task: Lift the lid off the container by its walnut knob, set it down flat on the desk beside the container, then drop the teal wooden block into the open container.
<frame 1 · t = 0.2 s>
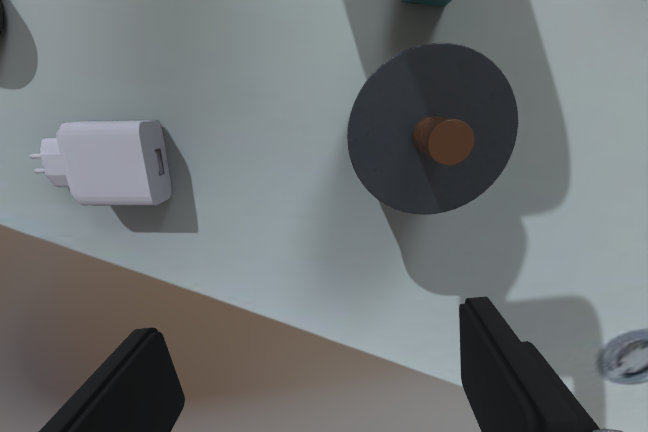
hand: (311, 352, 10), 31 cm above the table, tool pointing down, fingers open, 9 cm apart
charger: (109, 159, 41), on the table
lid: (429, 134, 26), point 12 cm above the table, touching container
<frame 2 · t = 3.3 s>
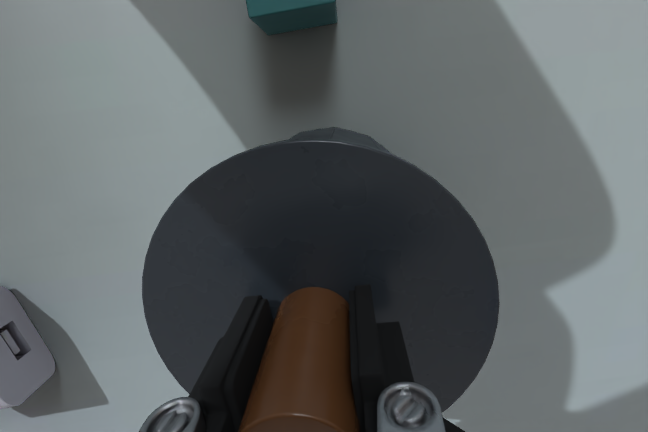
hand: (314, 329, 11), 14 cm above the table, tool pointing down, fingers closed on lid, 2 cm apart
container: (330, 210, 24), on the table
lid: (316, 310, 12), point 13 cm above the table, touching gripper, container
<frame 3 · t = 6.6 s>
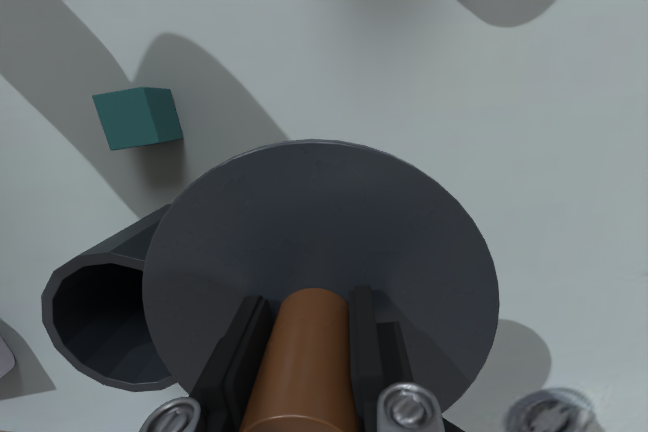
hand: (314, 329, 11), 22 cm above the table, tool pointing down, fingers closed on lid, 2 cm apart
container: (195, 253, 36), on the table
lid: (316, 311, 12), point 21 cm above the table, touching gripper
block: (155, 117, 31), on the table
when the fingers open (2 cm above the table, at t = 10.4 s): lid stays where it is, point 1 cm above the table.
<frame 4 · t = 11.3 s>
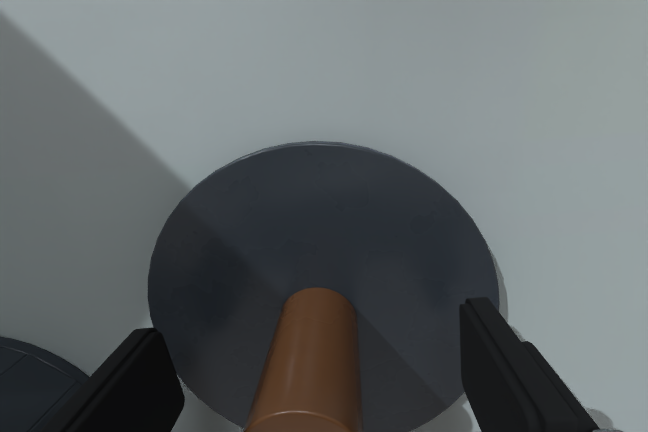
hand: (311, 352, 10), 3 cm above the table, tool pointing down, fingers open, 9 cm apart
container: (19, 431, 17), on the table
lid: (319, 311, 13), point 1 cm above the table
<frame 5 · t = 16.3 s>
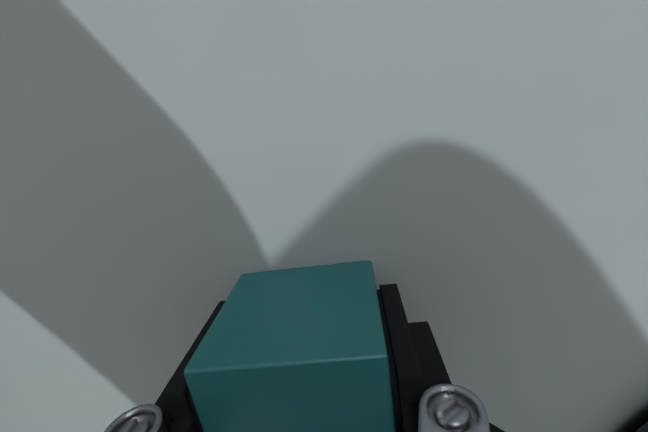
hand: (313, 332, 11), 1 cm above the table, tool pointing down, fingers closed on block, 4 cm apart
block: (315, 322, 12), on the table, touching gripper
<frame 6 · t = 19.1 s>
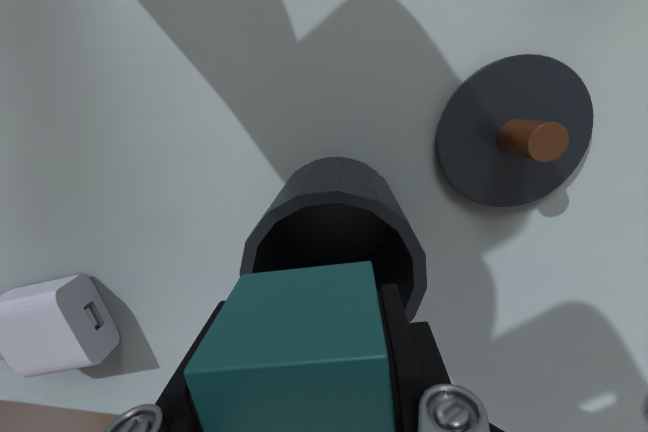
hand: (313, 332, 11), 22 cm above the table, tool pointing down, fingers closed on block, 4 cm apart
container: (336, 216, 33), on the table
charger: (50, 316, 39), on the table
lid: (510, 135, 29), point 1 cm above the table
block: (315, 322, 12), point 21 cm above the table, touching gripper
when the fingers open (12 cm above the table, at t = 22.8 s): block stays where it is, resting on container.
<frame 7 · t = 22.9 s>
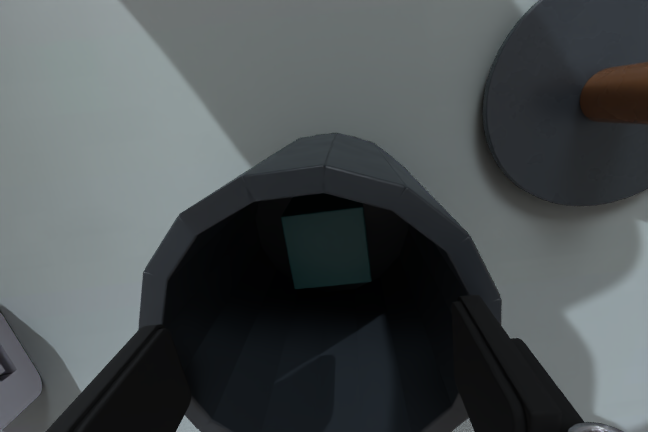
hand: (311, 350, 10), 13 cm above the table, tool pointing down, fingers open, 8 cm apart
container: (331, 221, 23), on the table
lid: (598, 95, 19), point 1 cm above the table
block: (330, 223, 22), point 1 cm above the table, touching container
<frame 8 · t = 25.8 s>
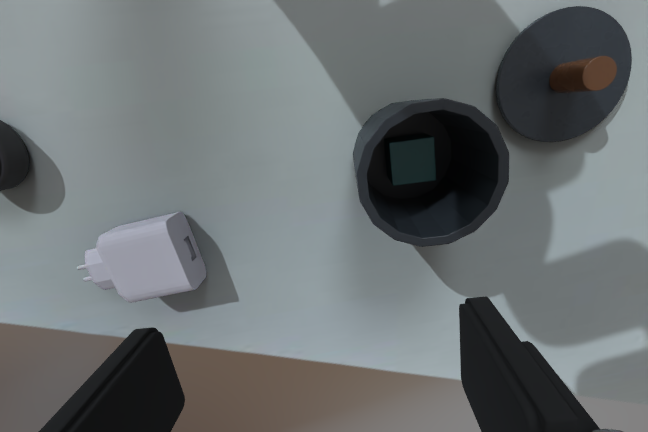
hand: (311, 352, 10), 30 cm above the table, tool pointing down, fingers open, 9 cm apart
container: (404, 155, 38), on the table
charger: (145, 253, 44), on the table
lid: (560, 78, 34), point 1 cm above the table
smart speaker: (0, 151, 41), on the table
block: (405, 155, 37), point 1 cm above the table, touching container
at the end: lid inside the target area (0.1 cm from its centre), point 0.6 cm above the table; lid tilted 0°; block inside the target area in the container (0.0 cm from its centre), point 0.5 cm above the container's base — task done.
